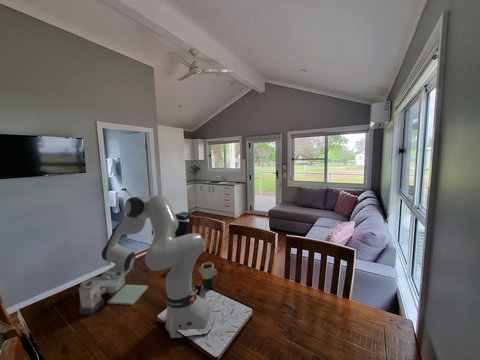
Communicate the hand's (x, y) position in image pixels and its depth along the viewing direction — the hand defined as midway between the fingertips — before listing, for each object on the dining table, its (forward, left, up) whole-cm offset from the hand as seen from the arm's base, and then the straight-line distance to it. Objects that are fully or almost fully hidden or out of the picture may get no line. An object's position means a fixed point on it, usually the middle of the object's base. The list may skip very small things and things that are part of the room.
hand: (89, 295), depth 98 cm
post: (0, -1, -8) cm, 8 cm away
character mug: (-54, -22, -8) cm, 59 cm away
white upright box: (0, -1, -5) cm, 5 cm away
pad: (-12, -12, -8) cm, 19 cm away
